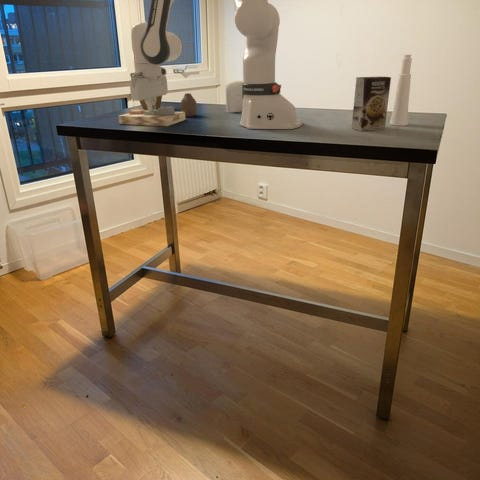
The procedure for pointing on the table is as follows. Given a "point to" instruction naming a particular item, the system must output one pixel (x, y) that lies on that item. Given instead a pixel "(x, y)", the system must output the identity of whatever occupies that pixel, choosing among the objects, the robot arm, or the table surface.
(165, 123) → the button panel
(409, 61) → the cosmetic bottle
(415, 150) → the table surface
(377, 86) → the cookie box
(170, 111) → the button two
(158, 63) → the robot arm
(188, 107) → the vase
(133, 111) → the button one
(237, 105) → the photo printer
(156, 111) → the button three
